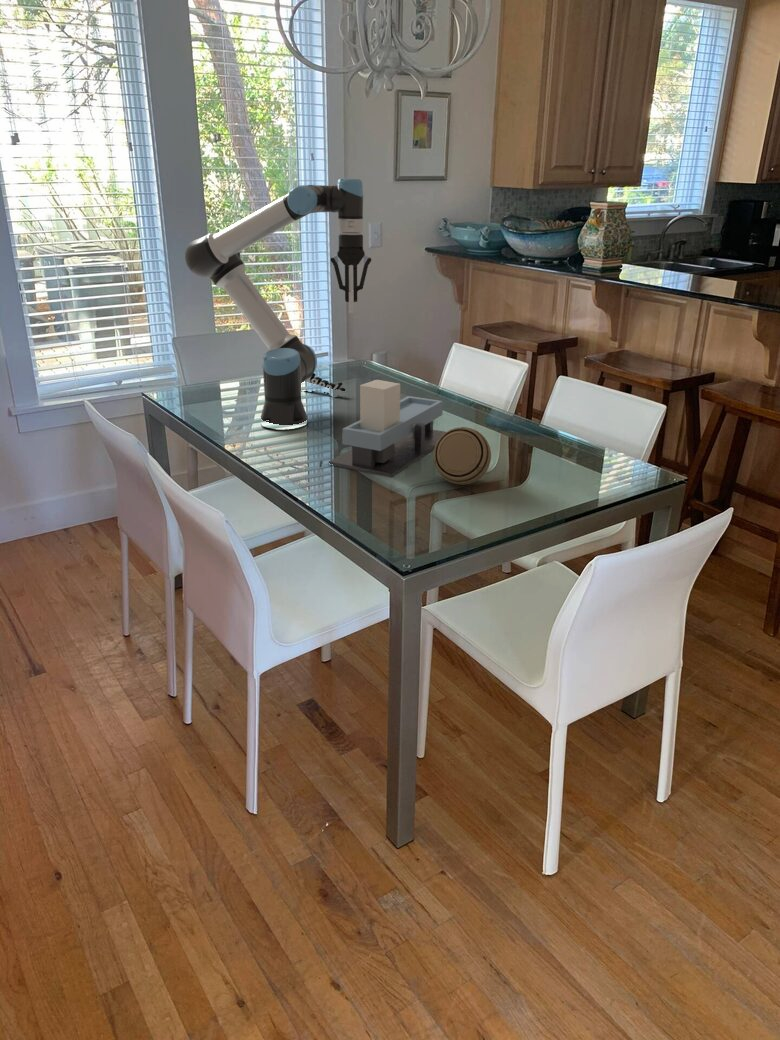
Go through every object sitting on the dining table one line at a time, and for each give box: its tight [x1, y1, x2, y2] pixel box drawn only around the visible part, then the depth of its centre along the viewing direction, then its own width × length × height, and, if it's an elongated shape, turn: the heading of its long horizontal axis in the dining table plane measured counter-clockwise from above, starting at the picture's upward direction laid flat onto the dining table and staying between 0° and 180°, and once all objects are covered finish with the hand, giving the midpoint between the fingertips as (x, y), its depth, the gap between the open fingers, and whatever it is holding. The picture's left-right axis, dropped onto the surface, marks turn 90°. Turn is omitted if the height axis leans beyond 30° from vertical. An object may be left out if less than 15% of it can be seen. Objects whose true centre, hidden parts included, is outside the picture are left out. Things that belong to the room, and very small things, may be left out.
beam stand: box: [328, 420, 447, 478], centre depth 232 cm, size 42×20×9 cm, turn 152°
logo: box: [305, 372, 347, 391], centre depth 290 cm, size 21×2×10 cm, turn 57°
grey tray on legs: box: [341, 395, 444, 463], centre depth 231 cm, size 40×13×9 cm, turn 152°
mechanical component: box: [432, 426, 492, 486], centre depth 206 cm, size 15×15×15 cm
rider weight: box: [359, 379, 401, 432], centre depth 220 cm, size 8×8×12 cm
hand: (351, 312), depth 250 cm, fingers closed
